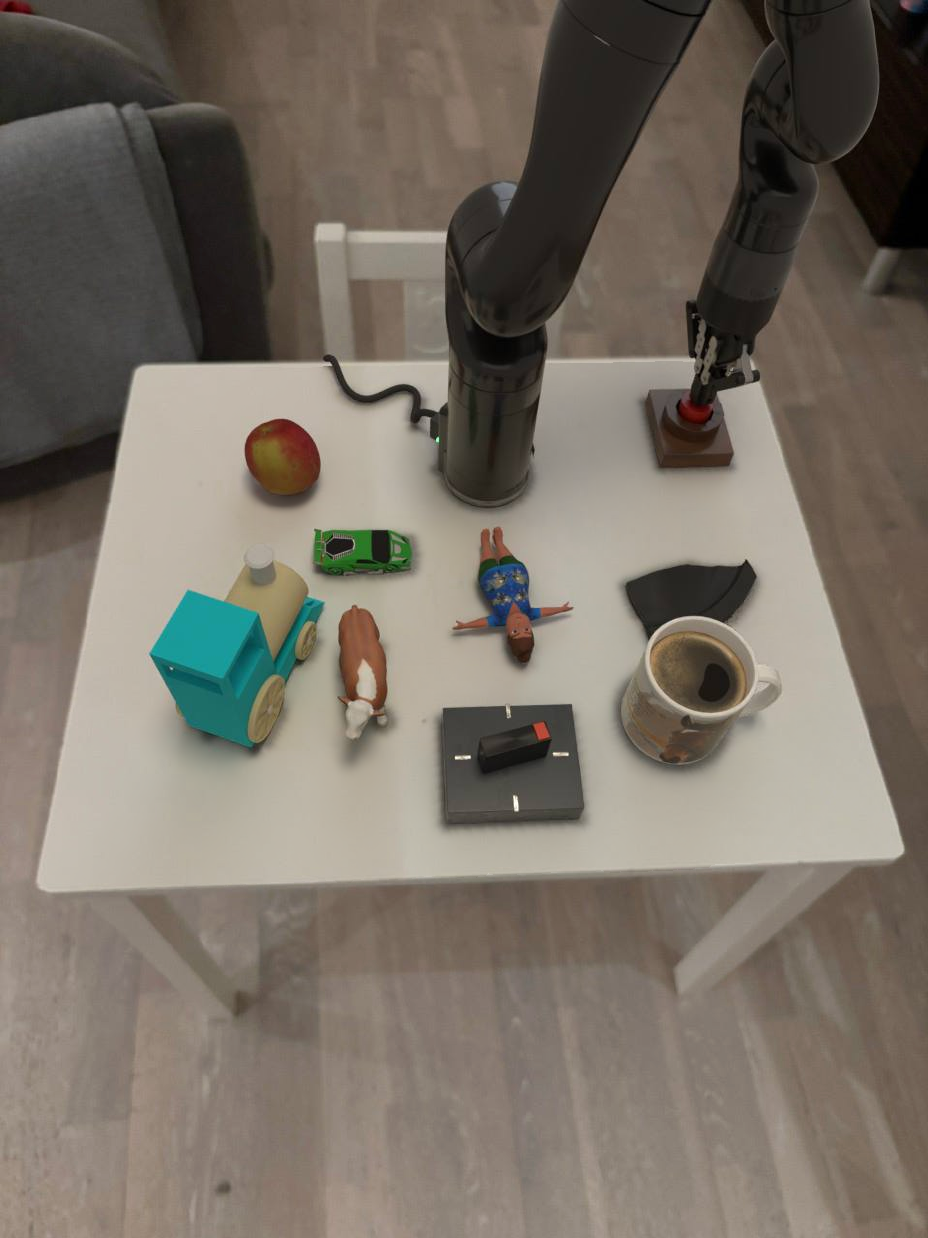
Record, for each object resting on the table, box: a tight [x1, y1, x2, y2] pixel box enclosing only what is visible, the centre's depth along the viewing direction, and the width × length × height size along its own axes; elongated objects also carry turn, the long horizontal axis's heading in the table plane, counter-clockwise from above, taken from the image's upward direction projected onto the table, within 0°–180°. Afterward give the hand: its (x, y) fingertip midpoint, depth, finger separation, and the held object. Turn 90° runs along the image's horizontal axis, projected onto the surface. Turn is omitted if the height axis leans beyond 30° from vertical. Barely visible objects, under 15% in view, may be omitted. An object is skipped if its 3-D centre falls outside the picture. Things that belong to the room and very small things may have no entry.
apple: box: [243, 418, 322, 496], centre depth 96 cm, size 8×8×8 cm
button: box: [678, 390, 714, 424], centre depth 101 cm, size 4×4×2 cm
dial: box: [477, 721, 552, 774], centre depth 79 cm, size 6×2×4 cm, turn 107°
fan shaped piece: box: [625, 558, 758, 636], centre depth 93 cm, size 8×14×2 cm, turn 108°
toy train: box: [148, 543, 325, 748], centre depth 81 cm, size 8×17×15 cm, turn 161°
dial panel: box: [441, 703, 585, 824], centre depth 82 cm, size 12×10×3 cm
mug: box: [620, 616, 783, 766], centre depth 82 cm, size 10×12×11 cm
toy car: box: [312, 528, 413, 576], centre depth 94 cm, size 10×5×2 cm, turn 94°
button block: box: [644, 388, 735, 469], centre depth 103 cm, size 10×8×4 cm
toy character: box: [452, 526, 575, 664], centre depth 90 cm, size 12×5×15 cm
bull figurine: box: [337, 604, 389, 741], centre depth 83 cm, size 4×13×8 cm, turn 5°
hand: (699, 400), depth 100 cm, fingers closed
